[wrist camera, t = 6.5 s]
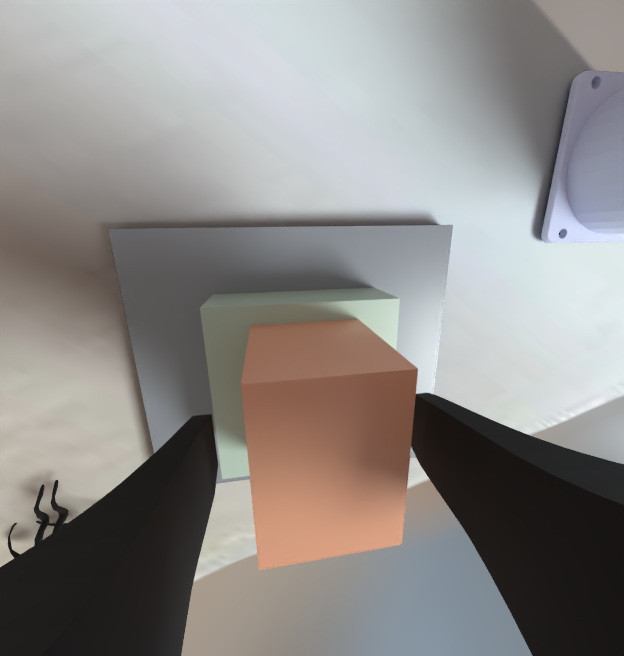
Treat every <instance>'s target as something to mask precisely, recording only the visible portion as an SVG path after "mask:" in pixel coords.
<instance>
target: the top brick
mask: <svg viewBox="0 0 624 656" xmlns="http://www.w3.org/2000/svg"><path fill="white" fill-rule="evenodd" d="M417 376H418V368H417V367H415V366H414V365H413V364H412V363H411V362H409V361H408V360H407V359H406V358H405V357H403V356H402V355H401V354H400V353H399V352H397V351H396V350H395V349H394V348H393V347H391V346H390V345H389V344H388V343H386V342H385V341H384V340H383V339H382V338H380V337H379V336H378V335H377V334H376V333H374V332H373V331H372V330H371V329H370V328H368V327H367V326H366V325H365V324H364V323H362V322H361V321H360V320H359V319H348V320H332V321H315V322H298V323H282V324H265V325H250V331H249V337H248V343H247V349H246V355H245V361H244V367H243V373H242V379H241V393H242V403H243V413H244V423H245V433H246V443H247V453H248V463H249V473H250V483H251V493H252V503H253V513H254V523H255V534H256V544H257V554H258V564H259V570H262V569H268V568H274V567H279V566H285V565H290V564H296V563H302V562H307V561H312V560H318V559H323V558H329V557H335V556H340V555H346V554H352V553H357V552H363V551H369V550H374V549H379V548H385V547H390V546H396V545H401V544H402V536H403V525H404V514H405V504H406V492H407V482H408V472H409V461H410V450H411V440H412V429H413V418H414V408H415V397H416V386H417Z"/></svg>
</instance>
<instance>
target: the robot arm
mask: <svg viewBox="0 0 624 656" xmlns="http://www.w3.org/2000/svg"><path fill="white" fill-rule="evenodd" d="M591 82H592V86H591ZM559 232H560V235H559ZM541 238H542V241H544V242H545V243H582V242H624V73H620V72H607V71H594V70H587V71H584V72H582V73H580V74H579V75H577V76H576V77H575V78H574V80H573V82H572V85H571V89H570V94H569V99H568V104H567V109H566V114H565V119H564V124H563V129H562V134H561V139H560V144H559V149H558V154H557V159H556V164H555V169H554V174H553V179H552V184H551V189H550V194H549V199H548V204H547V209H546V214H545V219H544V224H543V229H542V234H541ZM411 447H412V449H413V451H414V453H415V455H416V457H417V459H418V461H419V463H420V465H421V467H422V468H423V470H424V471H425V473H426V474H427V476H428V477H429V479H430V480H431V482H432V483H433V485H434V486H435V487H436V489H437V490H438V492H439V493H440V495H441V496H442V498H443V499H444V501H445V502H446V503H447V505H448V506H449V508H450V509H451V511H452V512H453V514H454V515H455V517H456V518H457V519H458V521H459V522H460V524H461V525H462V527H463V528H464V530H465V532H466V533H467V535H468V536H469V538H470V539H471V541H472V543H473V544H474V546H475V548H476V550H477V551H478V553H479V555H480V557H481V559H482V560H483V562H484V564H485V566H486V567H487V569H488V571H489V573H490V574H491V576H492V578H493V580H494V582H495V584H496V586H497V587H498V589H499V591H500V593H501V595H502V597H503V599H504V601H505V603H506V604H507V606H508V608H509V610H510V612H511V613H512V616H513V618H514V619H515V622H516V624H517V626H518V628H519V630H520V632H521V634H522V635H523V637H524V639H525V641H526V643H527V645H528V647H529V649H530V651H531V653H532V655H533V656H624V464H619V463H616V462H612V461H608V460H605V459H601V458H598V457H594V456H591V455H587V454H583V453H580V452H577V451H574V450H570V449H567V448H564V447H561V446H558V445H555V444H552V443H549V442H546V441H544V440H541V439H538V438H535V437H532V436H530V435H527V434H524V433H522V432H519V431H517V430H514V429H512V428H509V427H507V426H505V425H502V424H500V423H497V422H495V421H493V420H490V419H488V418H486V417H484V416H481V415H479V414H477V413H475V412H472V411H470V410H468V409H466V408H464V407H462V406H459V405H457V404H455V403H453V402H450V401H448V400H446V399H444V398H441V397H439V396H436V395H434V394H431V393H419V394H416V397H415V408H414V418H413V429H412V440H411ZM217 471H218V458H217V451H216V443H215V436H214V428H213V421H212V414H206V415H196V416H192V417H191V418H190V419H189V420H188V421H187V422H186V423H185V424H184V425H183V426H182V427H181V428H180V429H179V430H178V431H177V432H176V433H175V434H174V435H173V436H172V437H171V438H170V439H169V440H168V441H167V442H166V443H165V444H164V445H163V446H162V447H161V448H160V449H159V450H158V451H156V452H155V453H154V454H153V455H152V456H151V457H150V458H149V459H148V460H147V461H146V462H144V463H143V464H142V465H141V466H140V467H139V468H138V469H137V470H135V471H134V472H133V473H132V474H131V475H130V476H129V477H128V478H126V479H125V480H124V481H123V482H122V483H121V484H119V485H118V486H117V487H116V488H114V489H113V490H112V491H111V492H109V493H108V494H107V495H106V496H104V497H103V498H102V499H100V500H99V501H98V502H96V503H95V504H94V505H92V506H91V507H90V508H88V509H87V510H86V511H84V512H83V513H82V514H80V515H79V516H78V517H76V518H75V519H73V520H72V521H70V522H69V523H67V524H66V525H64V526H63V527H61V528H60V529H58V530H57V531H56V532H54V533H53V534H51V535H50V536H48V537H47V538H45V539H44V540H42V541H41V542H39V543H38V544H36V545H35V546H33V547H32V548H30V549H29V550H27V551H26V552H24V553H22V554H21V555H19V556H18V557H16V558H15V559H13V560H11V561H10V562H8V563H7V564H5V565H3V566H2V567H0V656H181V652H182V646H183V639H184V633H185V627H186V620H187V614H188V608H189V602H190V596H191V590H192V585H193V581H194V576H195V571H196V567H197V563H198V559H199V555H200V551H201V547H202V543H203V539H204V535H205V531H206V527H207V523H208V519H209V515H210V511H211V507H212V503H213V499H214V494H215V487H216V480H217Z"/></svg>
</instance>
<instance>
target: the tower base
mask: <svg viewBox="0 0 624 656" xmlns="http://www.w3.org/2000/svg"><path fill="white" fill-rule="evenodd" d="M452 228H453V225H405V226H313V227H220V228H128V229H108V234H109V239H110V243H111V248H112V253H113V258H114V263H115V268H116V272H117V277H118V282H119V287H120V292H121V296H122V301H123V306H124V311H125V316H126V320H127V325H128V330H129V335H130V340H131V345H132V349H133V354H134V359H135V364H136V369H137V373H138V378H139V383H140V388H141V393H142V398H143V402H144V407H145V412H146V417H147V422H148V426H149V431H150V436H151V441H152V446H153V450H154V453H155V452H156V451H158V450H159V449H160V448H161V447H162V446H163V445H164V444H165V443H166V442H167V441H168V440H169V439H170V438H171V437H172V436H173V435H174V434H175V433H176V432H177V431H178V430H179V429H180V428H181V427H182V426H183V425H184V424H185V423H186V422H187V421H188V420H189V419H190V418H191V417H192V416H196V415H206V414H212V421H213V428H214V436H215V443H216V451H217V458H218V471H217V480H216V484H217V483H224V482H232V481H239V480H247V479H250V473H249V463H248V453H247V443H246V433H245V423H244V413H243V403H242V393H241V379H242V373H243V367H244V361H245V355H246V349H247V343H248V337H249V331H250V325H265V324H282V323H298V322H315V321H332V320H348V319H359V320H360V321H361V322H362V323H364V324H365V325H366V326H367V327H368V328H370V329H371V330H372V331H373V332H374V333H376V334H377V335H378V336H379V337H380V338H382V339H383V340H384V341H385V342H386V343H388V344H389V345H390V346H391V347H393V348H394V349H395V350H396V351H397V352H399V353H400V354H401V355H402V356H403V357H405V358H406V359H407V360H408V361H409V362H411V363H412V364H413V365H414V366H415V367H417V368H418V376H417V386H416V394H419V393H431V394H433V392H434V384H435V375H436V366H437V358H438V349H439V341H440V332H441V323H442V315H443V306H444V297H445V289H446V280H447V271H448V263H449V254H450V246H451V237H452ZM413 457H416V455H415V453H414V451H413V449H412V447H411V450H410V458H413Z"/></svg>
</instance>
